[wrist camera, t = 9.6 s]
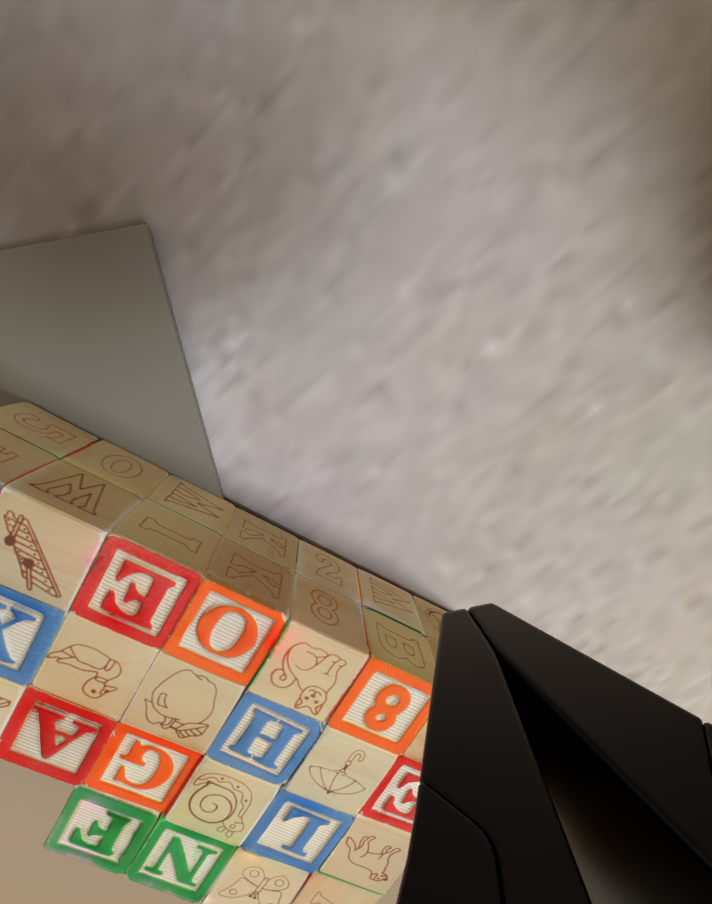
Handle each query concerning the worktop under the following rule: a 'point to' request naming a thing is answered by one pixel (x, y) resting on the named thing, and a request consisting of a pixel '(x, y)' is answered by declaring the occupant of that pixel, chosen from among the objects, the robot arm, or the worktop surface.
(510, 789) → the robot arm
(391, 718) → the stack of blocks
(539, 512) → the worktop surface
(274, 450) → the worktop surface
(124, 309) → the mat
